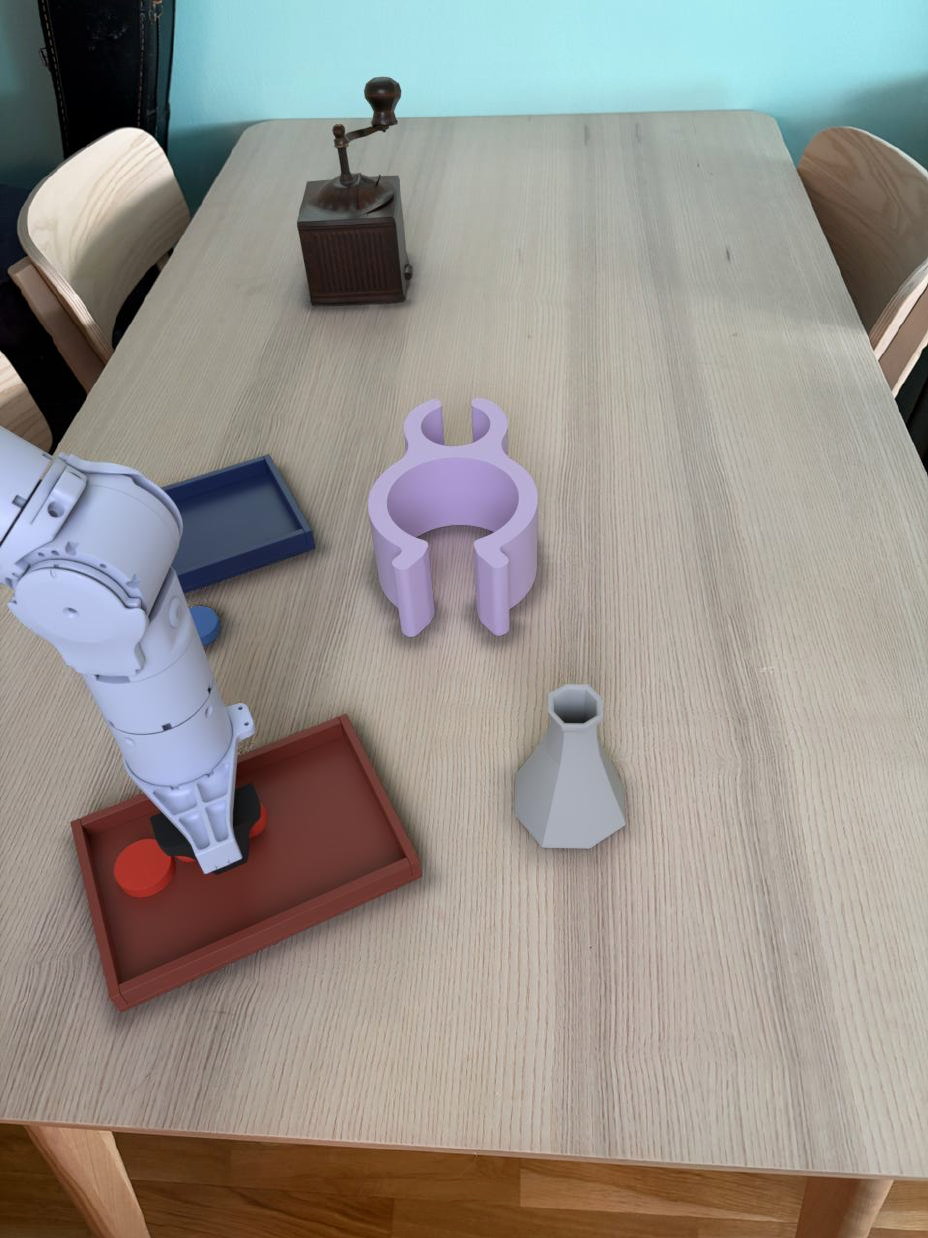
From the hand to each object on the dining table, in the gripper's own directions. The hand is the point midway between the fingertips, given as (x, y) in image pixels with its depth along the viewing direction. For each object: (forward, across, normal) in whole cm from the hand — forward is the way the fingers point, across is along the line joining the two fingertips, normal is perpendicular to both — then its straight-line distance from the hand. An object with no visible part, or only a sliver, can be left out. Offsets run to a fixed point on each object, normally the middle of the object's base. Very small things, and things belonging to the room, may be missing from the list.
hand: (218, 829), depth 59 cm
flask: (+2, -7, -20) cm, 22 cm away
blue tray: (+2, +28, -6) cm, 29 cm away
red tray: (+2, -2, -1) cm, 3 cm away
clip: (+2, +18, -24) cm, 30 cm away
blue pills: (+2, +18, 0) cm, 19 cm away
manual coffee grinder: (+2, +64, -34) cm, 73 cm away
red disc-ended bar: (+1, 0, +2) cm, 2 cm away
